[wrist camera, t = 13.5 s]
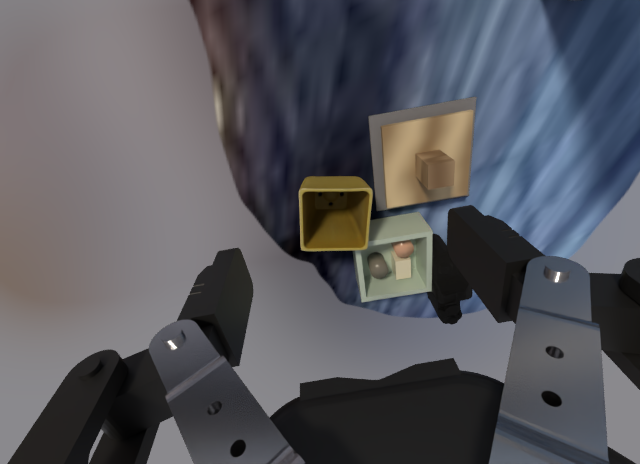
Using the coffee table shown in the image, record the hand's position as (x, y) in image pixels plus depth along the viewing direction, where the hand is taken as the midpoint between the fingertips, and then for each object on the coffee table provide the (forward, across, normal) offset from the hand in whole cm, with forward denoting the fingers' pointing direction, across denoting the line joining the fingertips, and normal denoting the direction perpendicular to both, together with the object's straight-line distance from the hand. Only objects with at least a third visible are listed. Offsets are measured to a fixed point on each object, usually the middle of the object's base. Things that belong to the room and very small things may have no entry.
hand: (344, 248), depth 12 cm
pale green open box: (+33, -8, +23) cm, 41 cm away
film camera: (+33, -18, +28) cm, 47 cm away
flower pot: (+33, 0, +12) cm, 35 cm away
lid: (+31, -14, +9) cm, 35 cm away
